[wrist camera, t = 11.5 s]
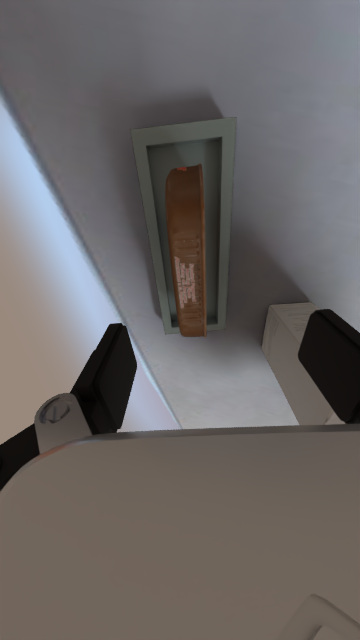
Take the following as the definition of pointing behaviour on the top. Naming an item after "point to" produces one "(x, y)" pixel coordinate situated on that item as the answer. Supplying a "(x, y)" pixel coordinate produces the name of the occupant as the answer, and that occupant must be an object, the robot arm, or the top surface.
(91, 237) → the top surface
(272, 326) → the skincare box
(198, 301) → the tin
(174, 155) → the tray
